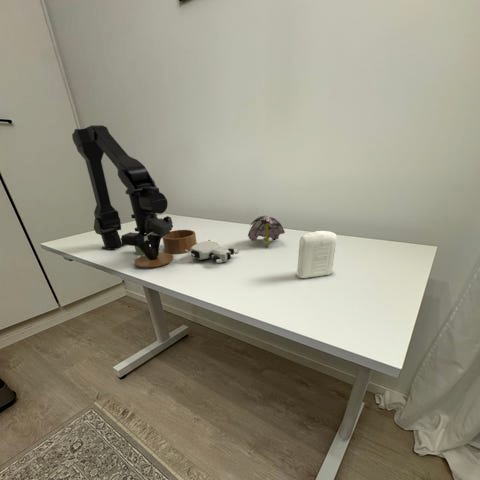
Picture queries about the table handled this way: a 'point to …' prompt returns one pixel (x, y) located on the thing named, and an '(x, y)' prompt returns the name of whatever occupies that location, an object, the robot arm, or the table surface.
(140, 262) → the wooden lid
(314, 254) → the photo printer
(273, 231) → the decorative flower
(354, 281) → the table surface
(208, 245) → the robot toy
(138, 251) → the candle
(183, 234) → the brown shallow round container
